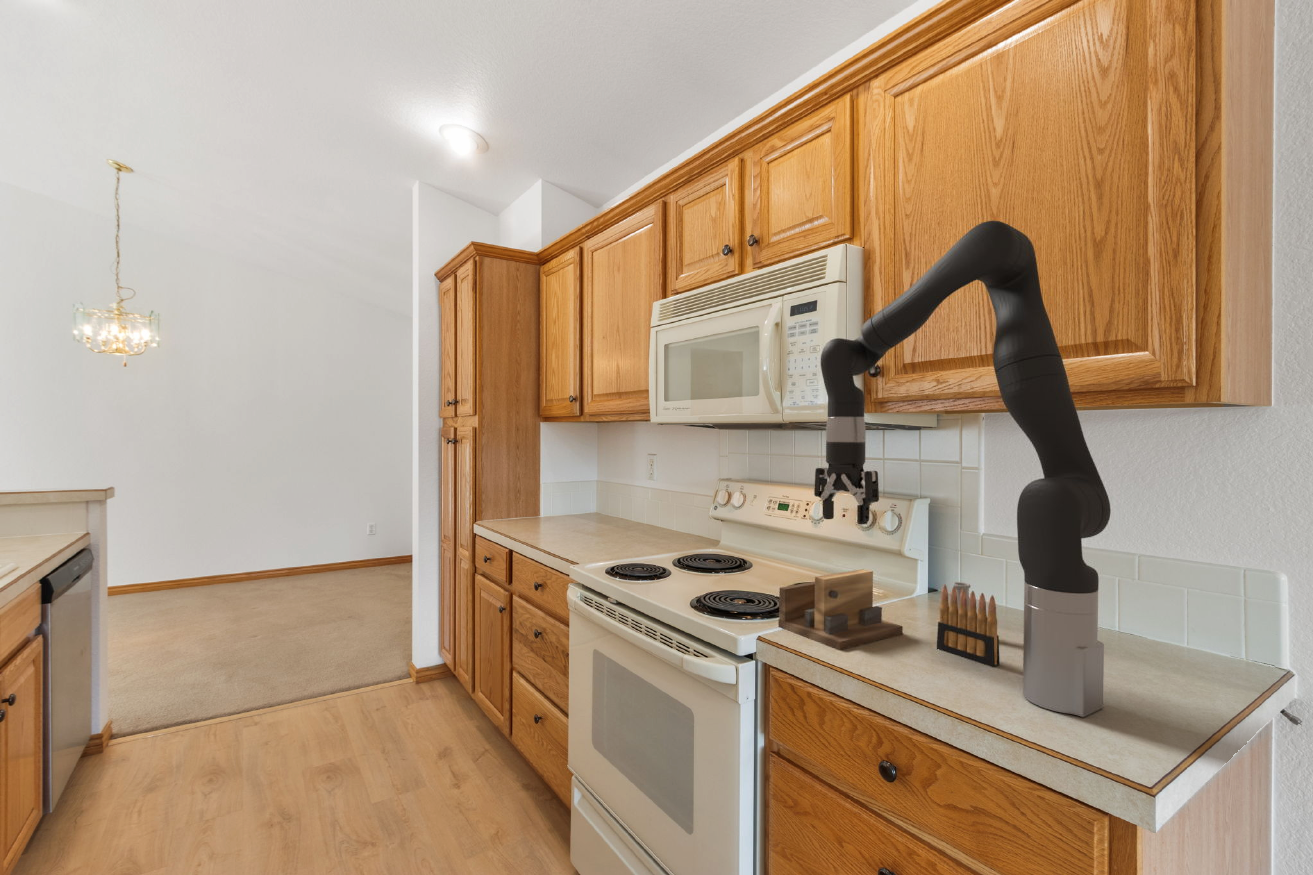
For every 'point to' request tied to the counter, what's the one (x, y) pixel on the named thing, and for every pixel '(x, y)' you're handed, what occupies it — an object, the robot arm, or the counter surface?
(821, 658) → the counter surface
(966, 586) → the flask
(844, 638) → the brown wooden base
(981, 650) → the ammunition clip
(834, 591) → the door
